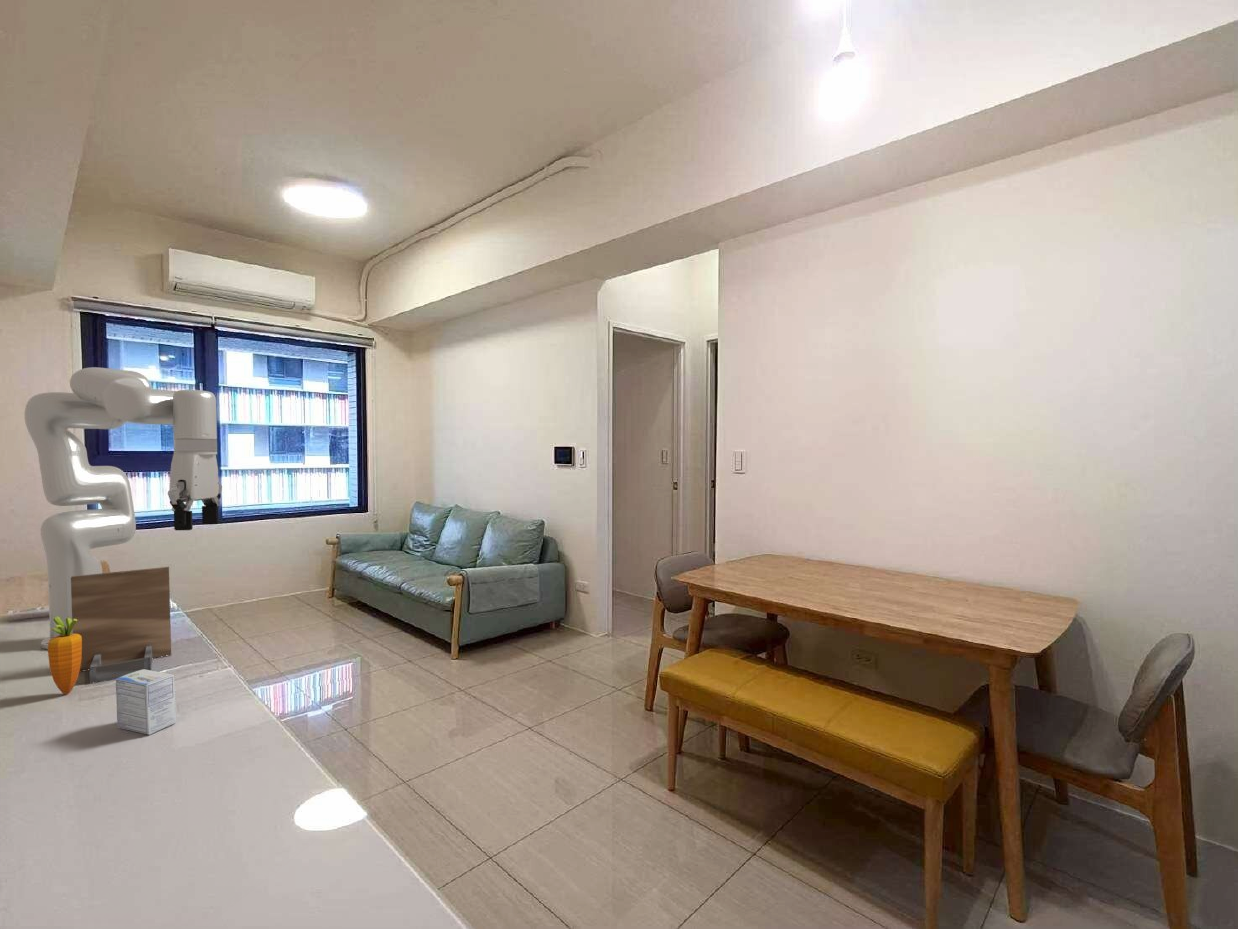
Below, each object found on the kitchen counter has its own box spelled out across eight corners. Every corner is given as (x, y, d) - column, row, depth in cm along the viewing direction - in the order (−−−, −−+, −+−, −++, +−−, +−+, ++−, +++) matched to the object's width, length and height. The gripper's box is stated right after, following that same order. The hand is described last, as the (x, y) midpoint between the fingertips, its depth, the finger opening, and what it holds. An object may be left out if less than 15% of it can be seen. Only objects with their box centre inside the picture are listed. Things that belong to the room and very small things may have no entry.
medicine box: (176, 724, 97) (175, 673, 97) (147, 736, 93) (146, 684, 93) (145, 716, 100) (144, 668, 100) (116, 728, 96) (114, 677, 95)
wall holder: (74, 670, 120) (71, 576, 120) (171, 653, 130) (168, 566, 129) (66, 688, 112) (63, 586, 111) (170, 668, 121) (168, 575, 121)
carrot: (90, 691, 110) (87, 614, 109) (56, 702, 105) (53, 621, 105) (77, 687, 112) (74, 611, 112) (43, 697, 108) (40, 618, 107)
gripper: (200, 447, 131) (202, 521, 132) (149, 448, 114) (151, 533, 115) (236, 447, 132) (237, 521, 133) (190, 448, 115) (192, 532, 116)
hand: (197, 526), depth 124 cm, fingers open, 9 cm apart
